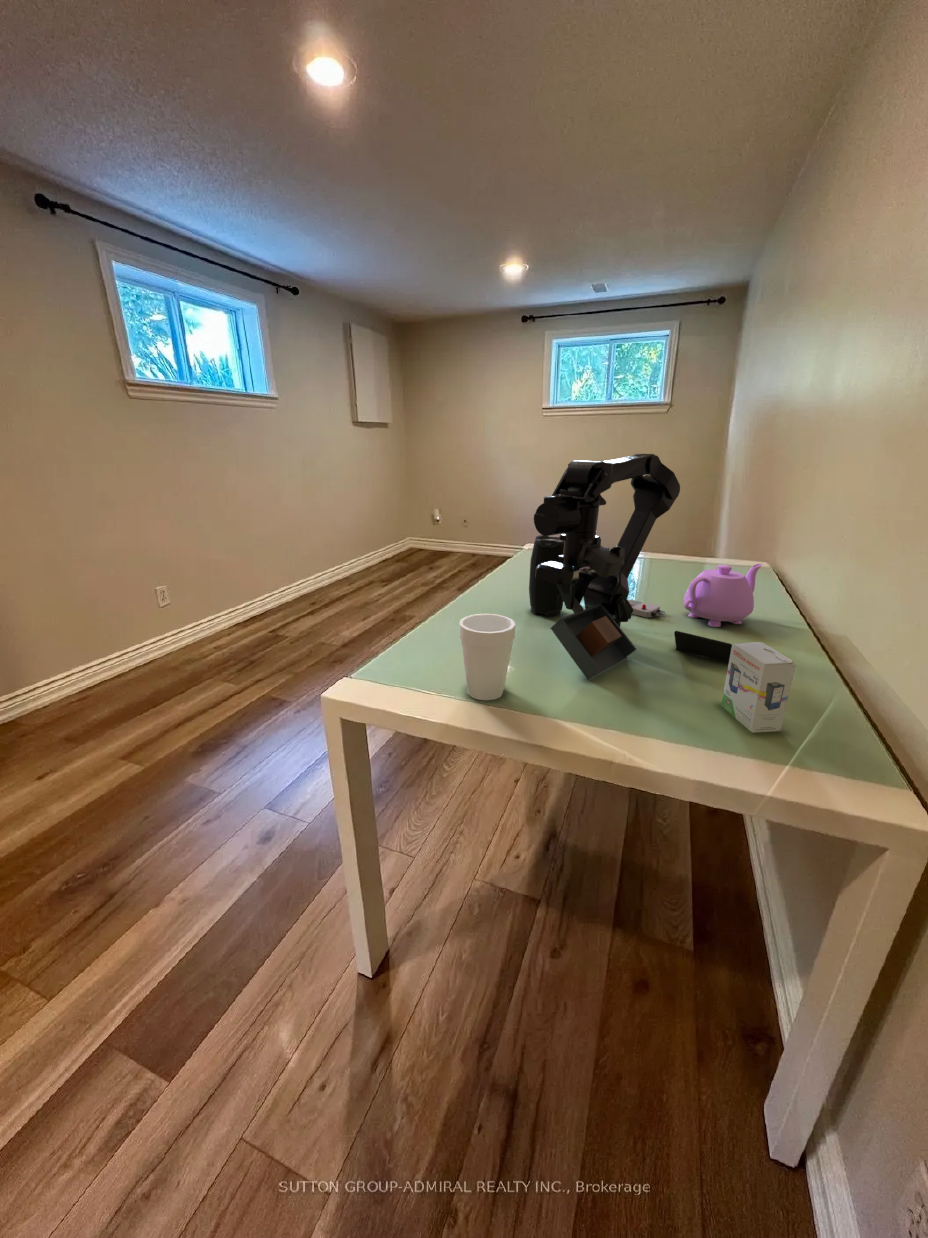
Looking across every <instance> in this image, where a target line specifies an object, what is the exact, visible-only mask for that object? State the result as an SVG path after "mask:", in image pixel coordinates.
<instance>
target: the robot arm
mask: <svg viewBox="0 0 928 1238" xmlns="http://www.w3.org/2000/svg"><path fill="white" fill-rule="evenodd" d="M630 479H631V480H630ZM627 480H630V485H631V487H632V489H633V490H634V492H633V495H632V498H633V505H634V510H633V512H632V514H631V516H630V517H629V521H628V522H627V523H626V526H625V528H624V531H623V532H622V535H621V537H619V538H620V539H619V541H618V543H617V545H616V546H613V547H612V548H611V549H610V548H609V547H604V546H602V545H601V544H602V538H601V536H599V535H597V527H598V521H599V520H598V519H599V511H600V506H606V505H607V500H606V499H605V498H604V497H603V496H602V495H601V494H602V493H604V492H606V491H608V490H610V489H611V487H612V485H613V484H615V483H618V482H623V481H627ZM680 491H681V485H680V482H679V480H678V477H677V476H676V474H675V472H674V471H673V470H671V469H670V468H669V467H668V466H667V465H666V464H664V463H662V461H661V459H660V457H659V455H656V454H654V453H638V452H637V453H635V454H633V455H629V456H624V457H619V458H615V459H609V460H604V461H600V460H599V461H597V460H593V461H592V460H576V459H574V460H572V461H570V462H568V464H567V467H566V469H565V471H563V474H562V475H561V478H560V479H559V481H558V484H556V487H555V489H554V490H553V492H552V495H544V497H543V502H542V503H541V504H539V505H538V506H537V507H536V510H535V513H534V514H533V524H534V527H535V530H536V531H537V532H538V533H539V535H543V536H549V537H551V536H555V535H559V537H560V540H563V541H564V550H563V555H559V556H558V561H561V562H564V563H563V564H562V563H558V562H554V561H549V562H545V563H541V564H539V565H538V566H537V567H536V574H535V577H536V578H538V579H541V580H545V581H548V582H552V583H556V585H557V587H558V589H559V591H560V593H561V596H562V599H563V601H564V602H563V605H564V606H565V609H567V610H570V611H572V610H571V609H572V607H573V603H574V598H576V599H577V601H578V602H579V603H580V604H581V603H582V602H583V603H584V609H587V608H590V607H592V606H595V605H597V604H600V603H601V604H602V605H603V606H604V608H605V609H606V610H607V612H608V613H609V614H610V615H611V617H612V618H613V619H614V621H615V622H616V623H617V624H618V626H619V627H620V628H621V624H622V623H628V622H629V620H630V619H631V618H632V615H633V614H632V613H633V608H632V606H631V605H630V603H629V602H628V600H629V599H628V597H629V594H630V588H629V577H630V575H631V572H632V570H633V568H634V566H635V564H636V562H637V560H638V558H639V556H640V553H641V552H642V549H643V547H644V545H645V544H646V542H647V539H648V537H649V535H650V533H651V531H652V529H653V527H654V525H655V523H656V520H657V519H659V518H660V517H661V516H663V515H664V514H665V513H667V512H669V510H670V509H671V508H672V506H673V505H674V504H675V501H676V500H677V498H678V497H679V495H680V493H681V492H680Z"/></svg>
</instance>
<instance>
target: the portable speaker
mask: <svg viewBox="0 0 928 1238" xmlns="http://www.w3.org/2000/svg"><path fill="white" fill-rule="evenodd" d="M563 550H564V541H563V540H560V536H543V535H541V534H539V535H537V536H535V538H534V543H533V547H532V552H531V556H530V565H529V580H528V582H529V583H528V594H529V606H530V613H531V614H532V615H537V614H542V615H545V616H546V618H555V617H559V616H560V615H561V612H562V611H563V606H564V601H563V599H562V596H561V593H560V591H559V589H558V587H557V585H556V583H552V582H548V581H545V580H541V579H538V578H536V577H535V574H536V567H537V566H538V565H539V564H541V563H545V562H549V561H554V562H558V563H562V564H563V563H564V562H561V561H558V556H559V555H563Z"/></svg>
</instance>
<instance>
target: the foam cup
mask: <svg viewBox="0 0 928 1238" xmlns="http://www.w3.org/2000/svg"><path fill="white" fill-rule="evenodd" d="M458 630H459V631H458V634H459V639H460V642H461V650H462V657H463V666H464V674H465V681H466V682H465V683H466V689H467V694H468V696H470V697H471V698H473V699H476V700H479V701H493V700H497V699H499V698H501V697H502V696H503V694H504V689H505V686H506V680H507V674H508V670H509V664H510V659H511V654H512V649H513V643H514V640H515V638H516V622H515V620H514V619H512V618H510V617H508V616H505V615H503V614H502V615H501V614H496V613H475V614H470V615H466V616H464V617H462V618H461V619H460V620H459V624H458Z"/></svg>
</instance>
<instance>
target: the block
mask: <svg viewBox="0 0 928 1238" xmlns="http://www.w3.org/2000/svg"><path fill="white" fill-rule="evenodd" d="M620 637H622V636H621V635H620V633H619V632H618V631H617V629H616V628H615V627H614V626H613V624H612V623H611V622H610V620H609V619H608V618H607V617H606V616H605V617H602V618H600V619H597V620H595V621H593V622H591V623H590V624H589V625H588V626H587V627H585V628H584V629H583V630H582V631H581V632H580V633H579V634H578V635H577V638H578V639H579V640H580V642H581V643H582V644H583V646H584V647H585V648H586V650H587V651H588V652H589V654H590V655H591V656H593V655H595V654H597V653H599V652H601V651H603V650H605V649H607V648H608V647H609V646H610V645H612V644H613V643H614V642H615V641H617V640H618V639H619V638H620Z"/></svg>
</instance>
